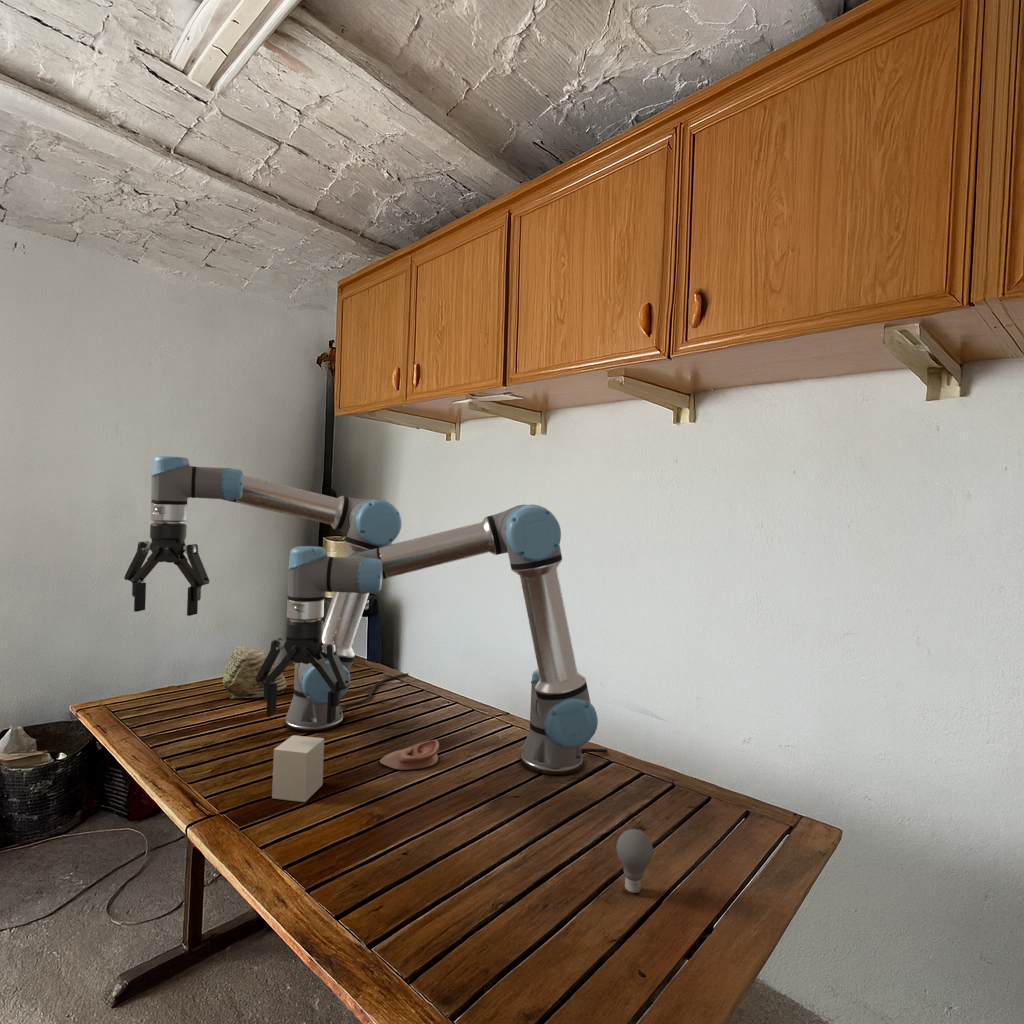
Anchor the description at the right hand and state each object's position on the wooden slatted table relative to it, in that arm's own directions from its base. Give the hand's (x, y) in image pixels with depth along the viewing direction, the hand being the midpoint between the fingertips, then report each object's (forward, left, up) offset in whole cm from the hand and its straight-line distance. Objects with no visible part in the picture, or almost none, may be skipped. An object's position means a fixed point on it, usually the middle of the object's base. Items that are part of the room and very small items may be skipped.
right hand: (301, 718), depth 135 cm
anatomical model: (-26, -9, -16) cm, 32 cm away
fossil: (+11, -71, -16) cm, 73 cm away
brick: (0, 0, -16) cm, 16 cm away
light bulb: (-51, +51, -16) cm, 74 cm away
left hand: (+30, -26, +18) cm, 44 cm away
